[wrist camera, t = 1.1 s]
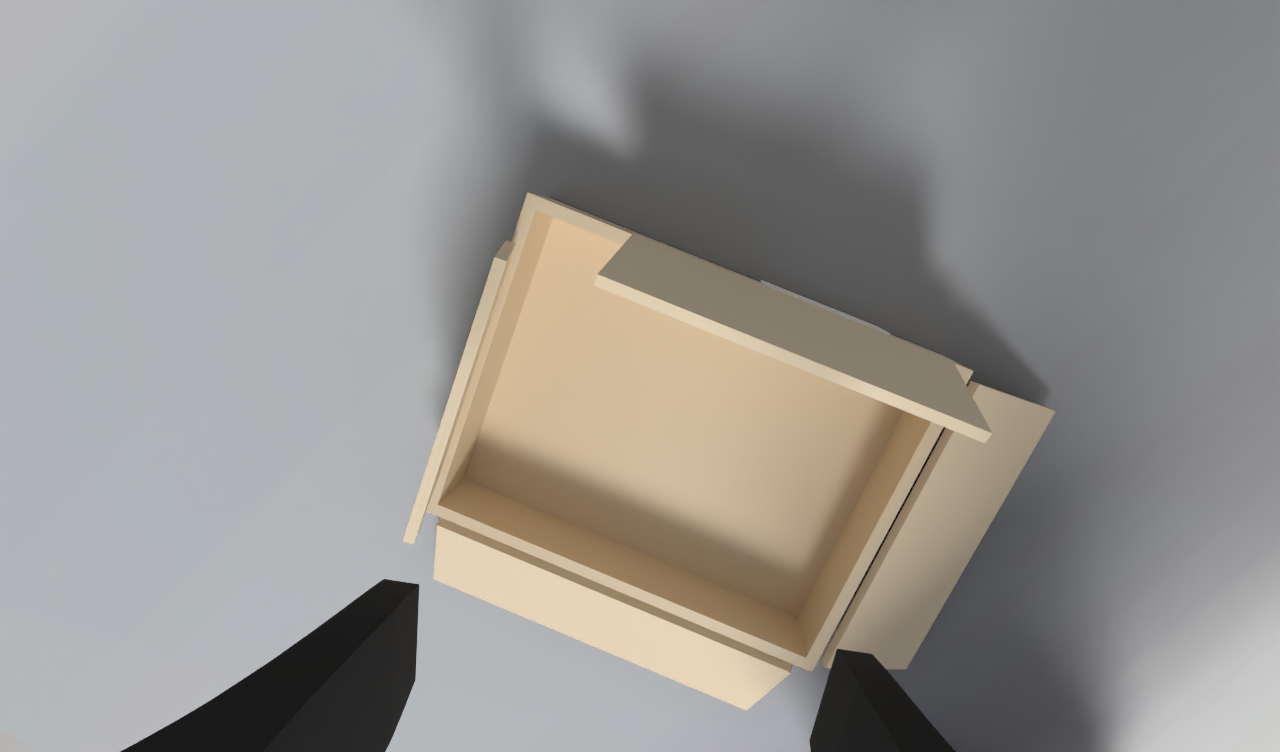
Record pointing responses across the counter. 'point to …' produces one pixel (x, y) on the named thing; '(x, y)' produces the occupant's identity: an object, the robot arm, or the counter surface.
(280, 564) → the counter surface
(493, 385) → the carton
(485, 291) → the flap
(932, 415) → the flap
